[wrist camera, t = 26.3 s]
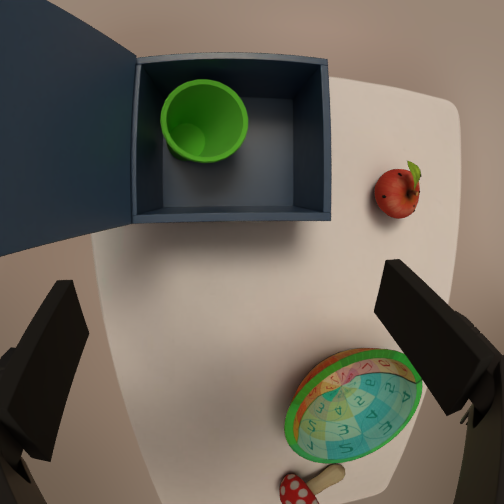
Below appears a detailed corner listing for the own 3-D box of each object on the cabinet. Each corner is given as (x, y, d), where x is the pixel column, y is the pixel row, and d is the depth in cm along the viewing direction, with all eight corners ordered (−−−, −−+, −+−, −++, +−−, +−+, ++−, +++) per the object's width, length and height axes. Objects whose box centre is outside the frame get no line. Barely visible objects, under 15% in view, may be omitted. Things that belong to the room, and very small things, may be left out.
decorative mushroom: (366, 482, 46) (301, 525, 41) (349, 488, 54) (293, 523, 48) (335, 443, 53) (270, 482, 48) (323, 454, 61) (267, 486, 55)
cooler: (296, 96, 41) (327, 58, 27) (297, 211, 44) (331, 221, 30) (160, 96, 39) (134, 57, 25) (158, 213, 42) (129, 223, 28)
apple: (410, 196, 45) (448, 199, 35) (382, 224, 46) (418, 233, 36) (382, 156, 44) (418, 151, 34) (352, 185, 44) (385, 184, 34)
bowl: (288, 441, 52) (298, 479, 42) (259, 346, 47) (268, 382, 38) (396, 402, 53) (419, 432, 43) (391, 303, 48) (423, 327, 38)
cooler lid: (-20, -33, 5) (-28, -26, 6) (-67, 277, 9) (-71, 275, 9) (136, 55, 25) (129, 57, 25) (131, 224, 28) (124, 224, 28)
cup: (230, 131, 41) (263, 108, 31) (198, 188, 41) (222, 179, 31) (174, 98, 38) (191, 63, 28) (138, 155, 37) (143, 134, 27)
